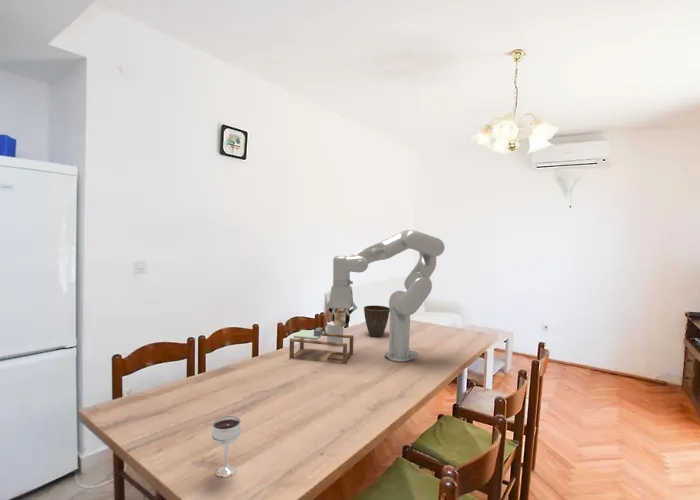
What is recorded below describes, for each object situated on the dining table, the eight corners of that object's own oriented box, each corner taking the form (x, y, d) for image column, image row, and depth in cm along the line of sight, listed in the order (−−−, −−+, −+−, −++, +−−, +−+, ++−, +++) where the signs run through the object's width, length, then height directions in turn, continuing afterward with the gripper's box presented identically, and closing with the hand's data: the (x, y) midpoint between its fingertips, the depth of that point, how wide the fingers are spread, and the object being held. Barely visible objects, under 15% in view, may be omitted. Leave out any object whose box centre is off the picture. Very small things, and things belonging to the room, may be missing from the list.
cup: (342, 349, 189) (343, 325, 188) (326, 348, 189) (326, 325, 188) (343, 344, 197) (343, 321, 196) (327, 344, 197) (328, 321, 197)
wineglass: (220, 484, 87) (220, 433, 86) (205, 471, 91) (206, 422, 91) (245, 470, 92) (246, 422, 91) (230, 459, 96) (231, 413, 96)
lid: (324, 333, 179) (324, 326, 179) (317, 340, 168) (317, 332, 168) (302, 331, 182) (302, 324, 182) (293, 338, 171) (293, 330, 171)
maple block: (347, 323, 174) (347, 310, 173) (345, 326, 169) (345, 313, 169) (337, 323, 175) (337, 310, 175) (334, 325, 170) (334, 312, 170)
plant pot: (361, 331, 223) (362, 305, 223) (386, 332, 225) (387, 305, 224) (364, 339, 209) (365, 310, 208) (391, 339, 210) (392, 310, 209)
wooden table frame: (352, 356, 179) (353, 335, 178) (345, 367, 164) (346, 344, 164) (300, 351, 184) (301, 330, 184) (289, 361, 170) (289, 339, 169)
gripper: (361, 282, 173) (361, 322, 174) (325, 281, 176) (325, 320, 177) (358, 285, 165) (357, 326, 166) (320, 283, 169) (320, 323, 170)
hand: (341, 322), depth 172 cm, fingers closed on maple block, 5 cm apart
